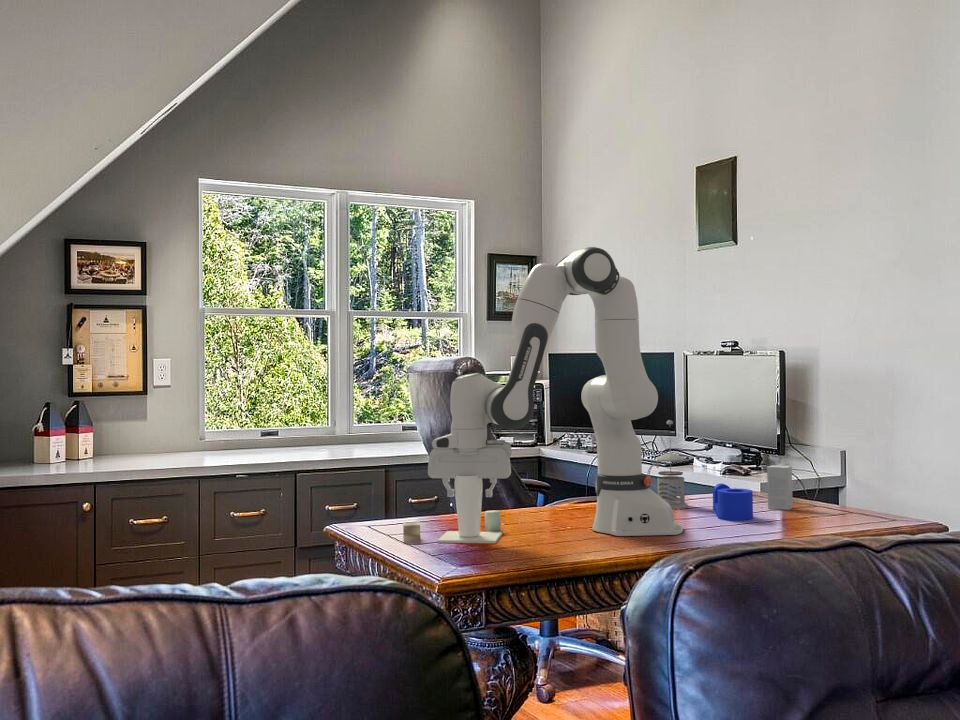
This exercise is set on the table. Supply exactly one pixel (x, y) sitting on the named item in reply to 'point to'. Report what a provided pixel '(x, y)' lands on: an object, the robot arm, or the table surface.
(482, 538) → the cream mat
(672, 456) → the french press
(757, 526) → the table surface
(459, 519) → the drinking glass
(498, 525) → the sage cylinder
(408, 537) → the ash block
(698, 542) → the table surface
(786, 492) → the skincare box
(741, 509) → the bracket
